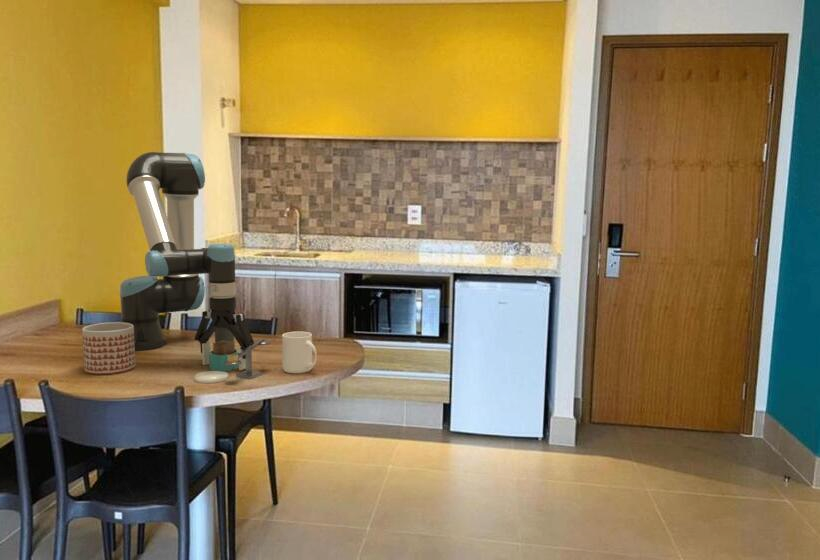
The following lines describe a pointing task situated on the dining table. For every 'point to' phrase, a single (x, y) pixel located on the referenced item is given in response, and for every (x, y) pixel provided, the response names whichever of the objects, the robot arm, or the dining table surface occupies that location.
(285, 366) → the mug
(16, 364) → the dining table surface
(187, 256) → the robot arm
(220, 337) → the bottle
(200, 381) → the dish
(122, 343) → the planter
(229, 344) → the block
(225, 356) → the collar
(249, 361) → the balance
